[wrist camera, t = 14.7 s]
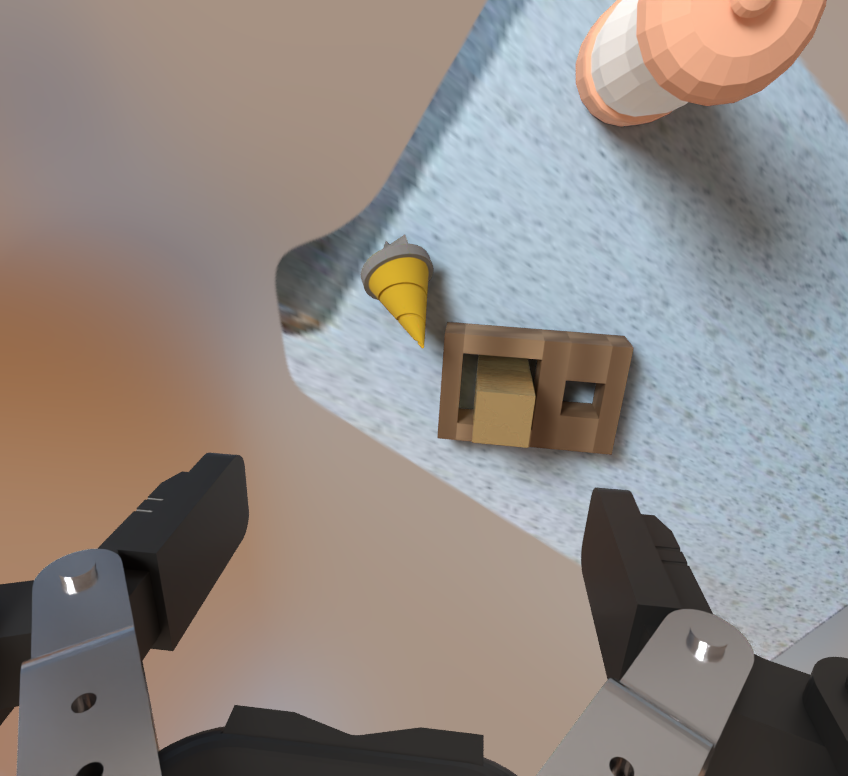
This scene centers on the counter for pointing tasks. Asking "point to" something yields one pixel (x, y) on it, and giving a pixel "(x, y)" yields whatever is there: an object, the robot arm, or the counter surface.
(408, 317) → the drill bit
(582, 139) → the counter surface
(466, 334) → the bore block
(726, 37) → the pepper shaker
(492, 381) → the tan square peg
